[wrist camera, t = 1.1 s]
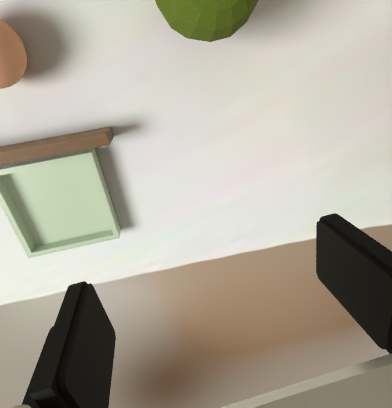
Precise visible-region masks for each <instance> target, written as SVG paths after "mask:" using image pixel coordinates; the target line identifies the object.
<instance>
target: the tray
mask: <svg viewBox="0 0 392 408" xmlns="http://www.w3.org/2000/svg"><path fill="white" fill-rule="evenodd" d="M0 205H1V207H2V208H3V210H4V212H5V214H6V216H7V218H8V220H9V222H10V224H11V226H12V227H13V229H14V231H15V233H16V235H17V237H18V239H19V241H20V243H21V244H22V246H23V248H24V250H25V252H26V254H27V256H28V258H31V257H35V256H40V255H44V254H49V253H53V252H58V251H62V250H67V249H71V248H76V247H80V246H85V245H89V244H94V243H98V242H103V241H107V240H112V239H116V238H120V231H121V229H120V226H119V223H118V220H117V216H116V213H115V210H114V207H113V204H112V201H111V198H110V195H109V192H108V189H107V185H106V182H105V179H104V176H103V173H102V170H101V167H100V164H99V161H98V157H97V154H96V151H95V148H91V149H86V150H81V151H76V152H70V153H65V154H60V155H55V156H49V157H44V158H39V159H33V160H28V161H23V162H18V163H12V164H7V165H2V166H0Z"/></svg>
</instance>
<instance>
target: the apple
mask: <svg viewBox="0 0 392 408" xmlns="http://www.w3.org/2000/svg"><path fill="white" fill-rule="evenodd" d="M155 1H156V4H157V6H158V8H159V9H160V11H161V13H162V14H163V16H164V17H165V19H166V21H167V22H168V24H169V25H170V27H171V28H172V29H174V30H175V31H177V32H178V33H180V34H181V35H183V36H184V37H186V38H189V39H195V40H202V41H208V42H212V41H215V40H219V39H223V38H227V37H230V36H232V35H233V34H234V33H235V32H236V31H237V30H238V29H239V28H240V27H241V26H242V25H243V24H245V23H246V22H247V20H248V18H249V16H250V15H251V13H252V11H253V9H254V7H255V5H256V4H257V2H258V0H155Z"/></svg>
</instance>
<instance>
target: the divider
mask: <svg viewBox="0 0 392 408" xmlns="http://www.w3.org/2000/svg"><path fill="white" fill-rule="evenodd" d="M112 139H113V135H112V131H111V128H110V127H106V128H100V129H95V130H89V131H84V132H78V133H73V134H67V135H62V136H56V137H51V138H46V139H40V140H35V141H29V142H24V143H18V144H13V145H7V146H2V147H0V165H5V164H10V163H15V162H20V161H26V160H31V159H36V158H42V157H47V156H52V155H57V154H63V153H68V152H73V151H78V150H84V149H89V148H94V147H100V146H105V145H109V144H110V142H111V141H112Z"/></svg>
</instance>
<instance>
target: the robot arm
mask: <svg viewBox="0 0 392 408" xmlns="http://www.w3.org/2000/svg"><path fill="white" fill-rule="evenodd" d="M316 244H317V247H316V250H317V253H316V254H317V255H316V259H317V260H316V272H317V276H318V278H319V279H320V281H321V282H322V283H323V284H324V285H325V286H326V287H327V289H328V290H329V291H330V292H331V293H332V294H333V295H334V297H335V298H336V299H337V300H338V301H339V302H340V303H341V304H342V306H343V307H344V308H345V309H346V310H347V311H348V312H349V313H350V315H351V316H352V317H353V318H354V319H355V320H356V321H357V323H358V324H359V325H360V326H361V327H362V328H363V329H364V330H365V331H366V333H367V334H368V335H369V336H370V337H371V338H372V339H373V341H374V342H375V343H376V344H377V345H378V346H379V347H380V348H382V349H386V350H387V351H388V352H389V353H390V354H389V355H386V356H382V357H379V358H376V359H373V360H369V361H367V362H363V363H360V364H357V365H354V366H351V367H347V368H344V369H341V370H337V371H334V372H331V373H328V374H325V375H321V376H318V377H315V378H312V379H309V380H306V381H302V382H299V383H296V384H293V385H290V386H287V387H284V388H281V389H277V390H274V391H271V392H268V393H265V394H262V395H259V396H255V397H252V398H249V399H246V400H243V401H240V402H237V403H234V404H231V405H227V406H224V407H222V408H392V252H391V251H390V250H389V249H387V248H386V247H384V246H383V245H381V244H380V243H379V242H377V241H376V240H374V239H373V238H371V237H369V236H368V235H367V234H365V233H364V232H362V231H361V230H360V229H358V228H357V227H355V226H354V225H352V224H351V223H350V222H348V221H347V220H345V219H344V218H342V217H341V216H339V215H338V214H336V213H334V214H330V215H326V216H323V217H321V218H320V221H318V222H317V240H316ZM115 340H116V337H115V331H114V328H113V326H112V324H111V322H110V320H109V318H108V316H107V314H106V312H105V310H104V308H103V306H102V304H101V302H100V300H99V298H98V295H97V293H96V291H95V289H94V287H93V285H92V284H87V283H86V282H85V281H84V282H80V283H76V284H73V285H70V286H69V287H68V289H67V291H66V294H65V297H64V300H63V303H62V305H61V308H60V311H59V314H58V317H57V319H56V322H55V325H54V326H53V327H52V328H51V329H50V331H49V333H48V336H47V338H46V341H45V344H44V346H43V349H42V352H41V354H40V357H39V360H38V363H37V365H36V368H35V371H34V373H33V376H32V379H31V381H30V384H29V387H28V389H27V392H26V395H25V397H24V400H23V403H22V405H18V406H14V407H12V408H108V406H109V396H110V387H111V377H112V368H113V358H114V349H115Z"/></svg>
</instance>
